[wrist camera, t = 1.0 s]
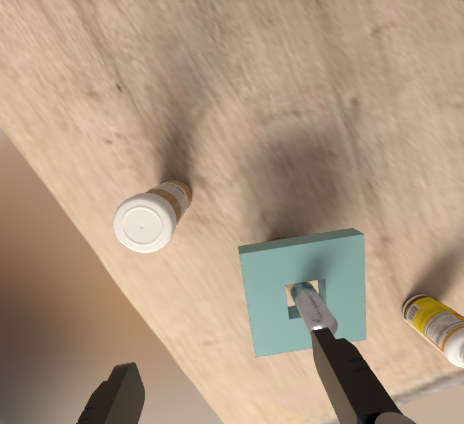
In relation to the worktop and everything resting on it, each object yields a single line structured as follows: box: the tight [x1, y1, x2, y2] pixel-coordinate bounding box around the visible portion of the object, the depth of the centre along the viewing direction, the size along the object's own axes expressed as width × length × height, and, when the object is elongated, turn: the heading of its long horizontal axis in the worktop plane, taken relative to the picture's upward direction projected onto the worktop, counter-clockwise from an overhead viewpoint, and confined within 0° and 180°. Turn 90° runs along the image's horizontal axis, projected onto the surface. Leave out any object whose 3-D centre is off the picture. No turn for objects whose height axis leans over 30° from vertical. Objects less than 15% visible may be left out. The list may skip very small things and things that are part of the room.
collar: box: [238, 228, 366, 357], centre depth 25 cm, size 12×12×2 cm
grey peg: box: [273, 238, 338, 335], centre depth 27 cm, size 6×6×14 cm
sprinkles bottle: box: [113, 180, 192, 253], centre depth 24 cm, size 5×5×13 cm
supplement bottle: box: [402, 294, 464, 368], centre depth 32 cm, size 6×6×10 cm
